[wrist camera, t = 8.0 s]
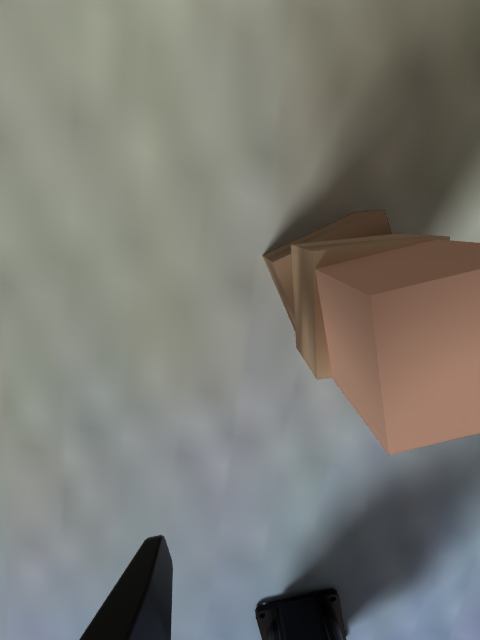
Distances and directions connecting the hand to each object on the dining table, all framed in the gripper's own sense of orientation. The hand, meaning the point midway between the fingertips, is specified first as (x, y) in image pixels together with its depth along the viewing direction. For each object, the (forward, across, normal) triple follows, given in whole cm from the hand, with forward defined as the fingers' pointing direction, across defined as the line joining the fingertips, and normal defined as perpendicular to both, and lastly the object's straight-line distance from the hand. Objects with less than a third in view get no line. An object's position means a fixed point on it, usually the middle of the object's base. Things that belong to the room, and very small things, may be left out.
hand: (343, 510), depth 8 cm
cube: (+5, -4, -3) cm, 7 cm away
